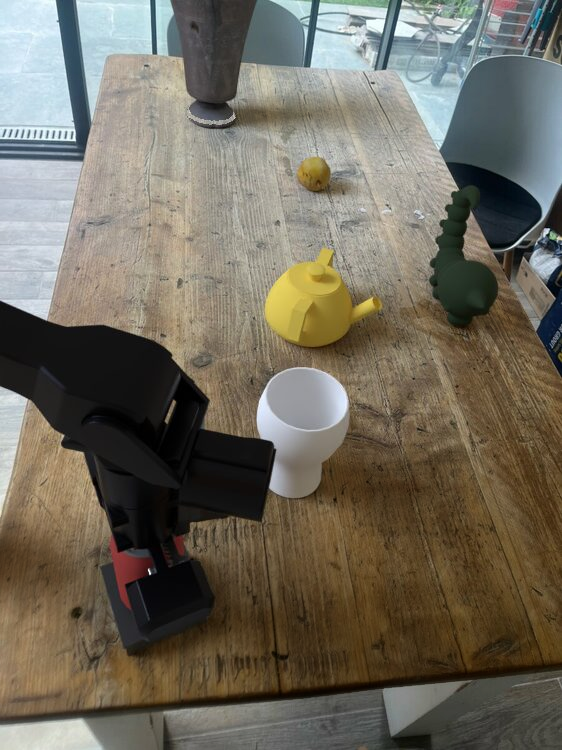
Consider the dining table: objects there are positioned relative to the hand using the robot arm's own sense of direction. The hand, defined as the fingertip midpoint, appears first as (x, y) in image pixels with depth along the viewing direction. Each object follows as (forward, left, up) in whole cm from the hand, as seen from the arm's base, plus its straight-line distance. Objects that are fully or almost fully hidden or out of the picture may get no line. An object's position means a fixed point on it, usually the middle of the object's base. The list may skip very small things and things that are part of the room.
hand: (150, 565), depth 57 cm
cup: (+21, +9, -9) cm, 24 cm away
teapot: (+38, +33, -9) cm, 51 cm away
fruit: (+58, +73, -9) cm, 94 cm away
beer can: (0, 0, -5) cm, 5 cm away
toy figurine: (+64, +31, -9) cm, 72 cm away
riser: (0, 0, -8) cm, 8 cm away
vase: (+50, +111, -9) cm, 122 cm away
